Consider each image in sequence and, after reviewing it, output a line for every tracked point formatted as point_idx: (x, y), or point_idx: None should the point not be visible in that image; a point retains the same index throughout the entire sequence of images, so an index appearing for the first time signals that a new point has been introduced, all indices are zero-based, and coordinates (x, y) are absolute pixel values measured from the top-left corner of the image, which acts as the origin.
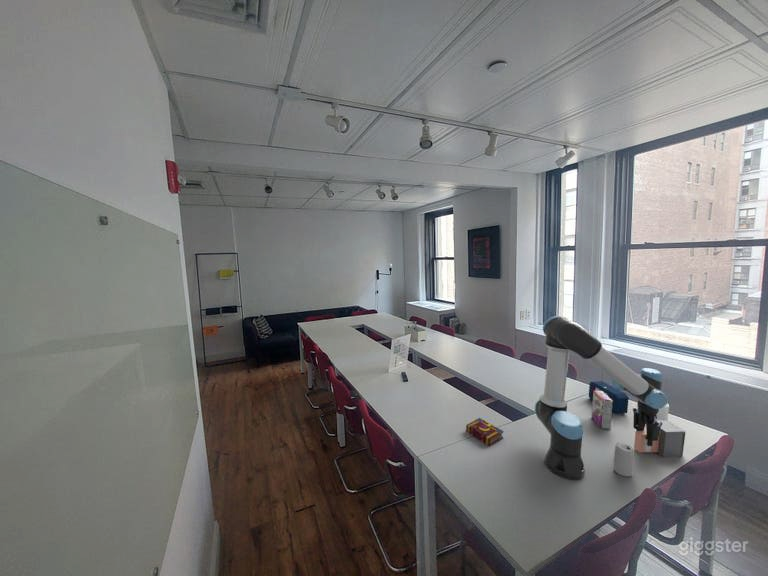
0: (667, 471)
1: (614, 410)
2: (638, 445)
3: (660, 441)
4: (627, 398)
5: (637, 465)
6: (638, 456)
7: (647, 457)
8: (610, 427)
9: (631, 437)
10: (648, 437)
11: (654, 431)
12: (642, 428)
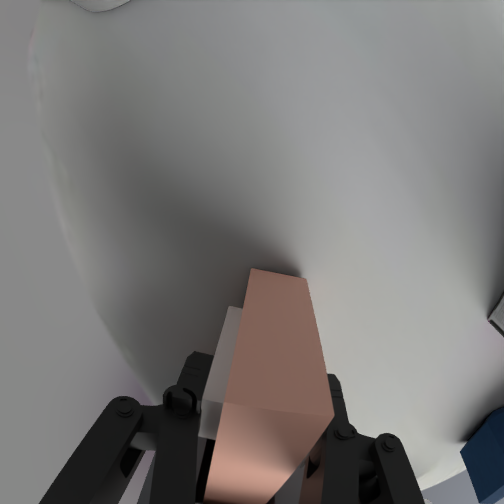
0: (73, 258)
1: (499, 424)
2: (262, 298)
3: (197, 448)
4: (481, 497)
5: (135, 108)
6: (218, 218)
7: (195, 275)
8: (494, 323)
9: (392, 370)
10: (166, 419)
11: (44, 498)
12: (308, 489)
